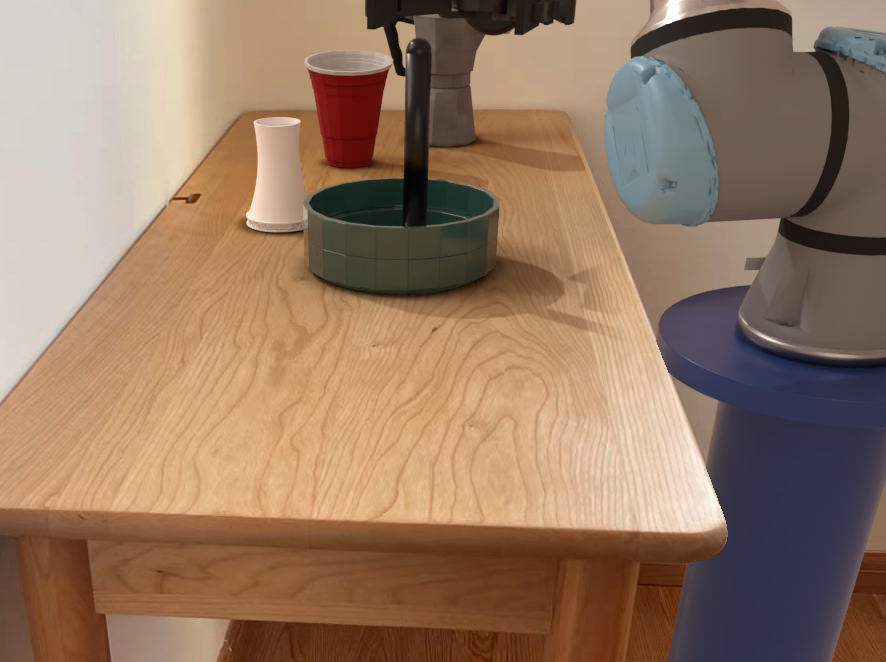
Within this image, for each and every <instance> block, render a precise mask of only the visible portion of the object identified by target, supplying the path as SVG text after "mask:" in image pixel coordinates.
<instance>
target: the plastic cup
mask: <svg viewBox="0 0 886 662" xmlns="http://www.w3.org/2000/svg"><path fill="white" fill-rule="evenodd" d="M303 63H304V67H306V70H307V72H308V74H309V75H308V76H309V79H310V82H311V87H312V91H313V95H314V101H315V102H314V103H315V107H316V114H317V119H318V125H319V131H320V136H321V137H322V138H321V139H322V144H323V151H324V157H325V159H326V163H327V164H328V165H329V166H331V167H335V168H336V167H337V168H345V169H347V168H349V169H351V168H352V169H353V168H362V167H366V166H368V165H369V166H370V165H371V164H372V162H373V158H374V154H375V146H376V138H377V135H378V131H379V125H380V120H381V119H380V117H381V111H382V106H383V99H384V93H385V88H386V83H387V79H388V76H389V72H390V69H391V68H392V65H393V59H392V57H390V56H389V55H387V54H384V53H380V52H377V51H370V50H362V49H360V50H359V49H341V50H340V49H339V50H327V51H322V52H317V53H313V54H311V55H309V56H306V57H305V59H304V61H303Z"/></svg>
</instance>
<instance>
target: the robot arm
mask: <svg viewBox="0 0 886 662" xmlns="http://www.w3.org/2000/svg"><path fill="white" fill-rule="evenodd" d="M452 8H453V9H457V11H452ZM576 8H577V0H364V16H365V18H366V30H372V31H373V30H377V29H380V28H384V27H390V23H393V22H395V21H397V17H408V16H419V15H431V14H438V15H439V16H440V17H442V18H447V19H453V18H463V19H465V20H466V21H467V23H468V24H469V25H470V26H471V27H472V28H473V29H475V30H476V31H478V32H480V33H482V34H485V36H490V37H491V36H492V37H493V36H501V35H508V34H510V33H512V31H513V30H514V33H513V35H514V36H524V35H525V34H527V33H529V32H531V31H532V30H534V29H536V28H537V27H539V26H540V24H542V25H544V26H550V25H552V24H554V21H556V22H558V23H559V24H563V25H564V26H571V25H573V24H575V19H576V10H577V9H576ZM793 43H794V39H793V14H792V11H791V10H790V9H789V8H788V7H786V6H785V5H784V4H782V3H781V2H780V1H779V0H649V17H648V20H647V21H646V23H645V24H644V25H643V26H642V27H641V29H640V30H639V31H638V33H637V34H636V35H635V36H634V38H633V39H632V40H631V42H630V51H629V52H630V59H629V60H628V61H626V62H624V63H623V64H622V65H620V67H619V68H618V69H617V70H616V71H615V73H614V75H613V77H612V79H611V81H610V84H609V87H608V90H607V94H606V99H605V101H606V106H607V111H606V112H605V113H604V116H603V117H604V118H603V139H604V140H603V142H604V150H605V156H606V162H607V167H608V172H609V176H610V179H611V182H612V186H613V187H614V190H615V192H616V195H617V196H618V198H619V200H620V201H621V202H622V203H623V204H624V206H625V209H626V210H627V211H628V212H629V213H630V214H631V215H632V216H633V217H634V218H636V219H638V220H639V221H641V222H643V223H646V224H650V225H681V226H683V227H688V228H694V227H698V226H700V225H703V224H706V223H718V222H719V223H720V222H721V223H723V222H737V221H759V220H777V219H779V223H778V228H777V233H776V237H775V240H774V242H773V244H772V246H771V248H770V249H769V252H768V254H767V255H766V256H765V257H764V256H762V257H746V259H745V265H744V269H743V271H757V273H756V276H755V277H754V279H753V281H752V282H751V284H750V285H751V286H750V288H749V290H748V292H747V294H746V296H745V297H744V299H743V302H742V304H741V307H740V309H739V314H738V319H737V324H736V331H737V333H738V335H739V336H740V338H741V339H742V340H744V341H745V342H746V343H747V344H749V345H750V346H752V347H754V348H756V349H758V350H760V351H762V352H764V353H767V354H770V355H772V356H775V357H778V358H782V359H785V360H789V361H793V362H798V363H803V364H808V365H814V366H821V367H830V368H845V369H867V368H880V367H886V32H884V31H876V30H871V29H869V30H868V29H863V28H854V27H845V26H827V27H824V28H823V29H821V30H820V32H819V34H818V36H817V38H816V40H814V43H813V47H812V48H813V49H814V51H794V45H793Z"/></svg>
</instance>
